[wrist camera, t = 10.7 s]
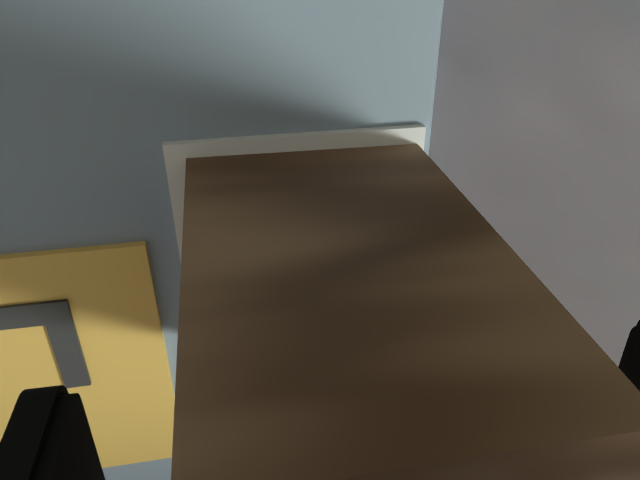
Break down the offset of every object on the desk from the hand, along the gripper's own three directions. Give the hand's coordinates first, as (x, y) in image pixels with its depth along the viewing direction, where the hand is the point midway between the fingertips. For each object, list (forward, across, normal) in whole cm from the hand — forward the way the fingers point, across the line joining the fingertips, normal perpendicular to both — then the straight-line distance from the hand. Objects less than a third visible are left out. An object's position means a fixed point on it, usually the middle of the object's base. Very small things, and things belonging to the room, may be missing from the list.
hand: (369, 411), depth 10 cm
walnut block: (+5, 0, 0) cm, 5 cm away
